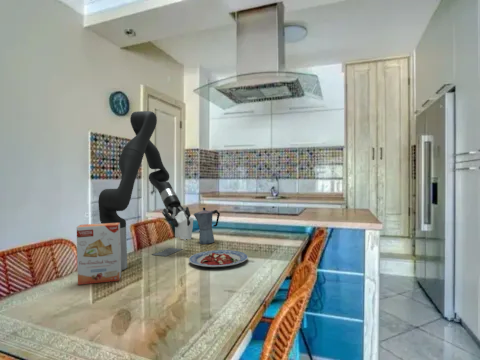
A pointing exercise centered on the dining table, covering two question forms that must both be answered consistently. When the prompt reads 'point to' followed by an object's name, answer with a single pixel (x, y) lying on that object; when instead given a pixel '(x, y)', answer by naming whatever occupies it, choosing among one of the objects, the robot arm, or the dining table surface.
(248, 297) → the dining table surface
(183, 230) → the white peaked cylinder
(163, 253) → the mat
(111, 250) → the cracker box
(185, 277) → the dining table surface
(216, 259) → the ceramic plate
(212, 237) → the moka pot
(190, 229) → the foam cup
